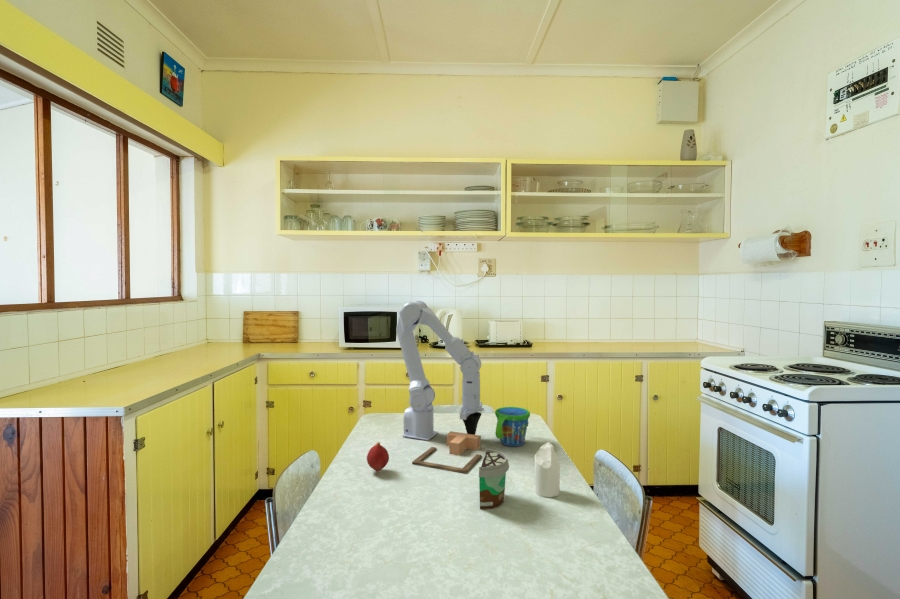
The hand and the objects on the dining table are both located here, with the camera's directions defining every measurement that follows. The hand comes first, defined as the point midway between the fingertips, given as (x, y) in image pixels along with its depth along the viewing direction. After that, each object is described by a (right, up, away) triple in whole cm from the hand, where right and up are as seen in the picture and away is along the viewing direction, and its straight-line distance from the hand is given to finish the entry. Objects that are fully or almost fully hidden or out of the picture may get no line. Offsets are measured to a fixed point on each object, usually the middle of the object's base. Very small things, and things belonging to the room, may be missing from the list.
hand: (471, 435), depth 149 cm
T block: (-4, -2, -8) cm, 9 cm away
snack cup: (+13, -2, -3) cm, 13 cm away
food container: (+4, -3, -41) cm, 41 cm away
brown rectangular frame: (-7, -2, -16) cm, 18 cm away
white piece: (+17, -3, -37) cm, 40 cm away
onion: (-26, -3, -24) cm, 36 cm away
